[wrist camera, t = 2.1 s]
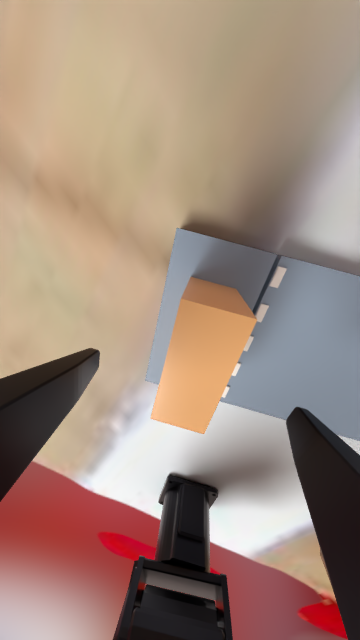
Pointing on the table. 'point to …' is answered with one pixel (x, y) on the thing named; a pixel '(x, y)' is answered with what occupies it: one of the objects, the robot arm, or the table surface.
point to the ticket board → (303, 347)
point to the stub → (203, 325)
